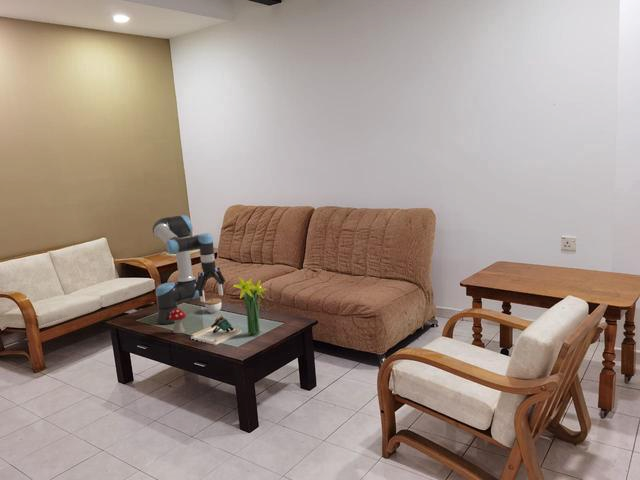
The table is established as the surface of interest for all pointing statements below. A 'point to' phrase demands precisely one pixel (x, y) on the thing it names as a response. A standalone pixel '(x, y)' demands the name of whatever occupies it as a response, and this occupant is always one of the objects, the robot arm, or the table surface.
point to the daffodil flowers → (249, 289)
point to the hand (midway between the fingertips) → (212, 298)
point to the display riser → (214, 335)
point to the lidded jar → (213, 305)
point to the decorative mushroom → (177, 320)
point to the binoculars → (222, 325)
